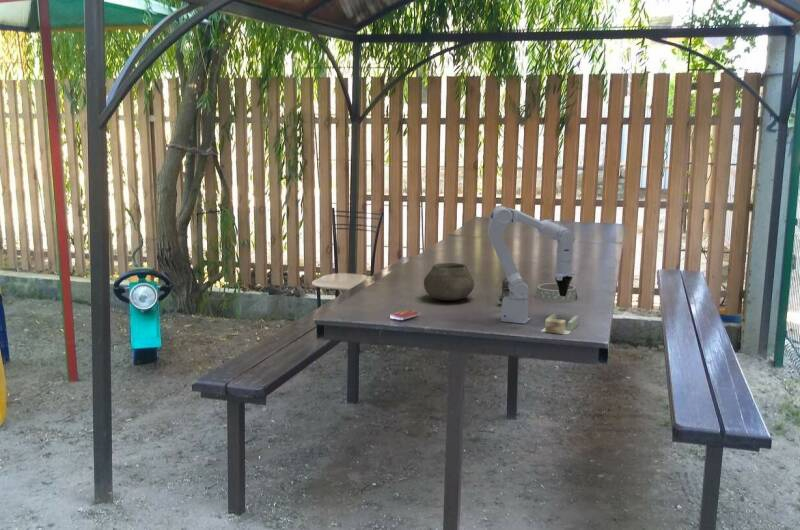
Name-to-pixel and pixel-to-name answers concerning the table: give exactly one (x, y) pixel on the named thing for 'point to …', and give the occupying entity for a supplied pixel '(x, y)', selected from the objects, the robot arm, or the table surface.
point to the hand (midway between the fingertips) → (563, 295)
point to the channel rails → (571, 323)
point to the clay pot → (449, 281)
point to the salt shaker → (504, 290)
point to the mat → (563, 333)
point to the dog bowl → (555, 293)
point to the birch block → (555, 326)
